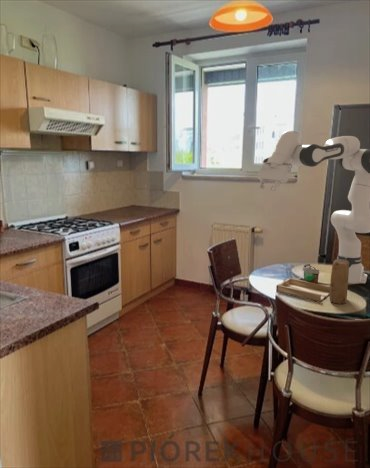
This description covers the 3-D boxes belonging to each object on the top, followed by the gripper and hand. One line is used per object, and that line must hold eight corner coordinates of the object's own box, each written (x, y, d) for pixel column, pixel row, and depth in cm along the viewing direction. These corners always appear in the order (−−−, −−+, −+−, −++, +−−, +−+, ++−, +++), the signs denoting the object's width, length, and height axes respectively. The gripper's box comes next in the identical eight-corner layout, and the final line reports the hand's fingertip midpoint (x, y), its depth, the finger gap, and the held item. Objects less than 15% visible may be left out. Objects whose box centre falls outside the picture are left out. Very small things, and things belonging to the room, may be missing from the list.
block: (345, 306, 163) (348, 264, 159) (328, 303, 167) (330, 262, 163) (347, 298, 172) (351, 258, 168) (331, 295, 176) (334, 256, 172)
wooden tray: (289, 284, 194) (289, 277, 193) (331, 293, 179) (331, 286, 178) (276, 291, 182) (276, 285, 182) (319, 302, 168) (320, 295, 167)
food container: (298, 280, 198) (299, 263, 196) (308, 280, 199) (309, 263, 197) (307, 288, 186) (308, 270, 184) (318, 288, 187) (319, 269, 185)
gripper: (298, 166, 160) (285, 194, 160) (270, 165, 178) (259, 190, 179) (288, 160, 157) (275, 188, 158) (261, 159, 176) (250, 185, 176)
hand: (266, 189), depth 168 cm, fingers open, 8 cm apart
